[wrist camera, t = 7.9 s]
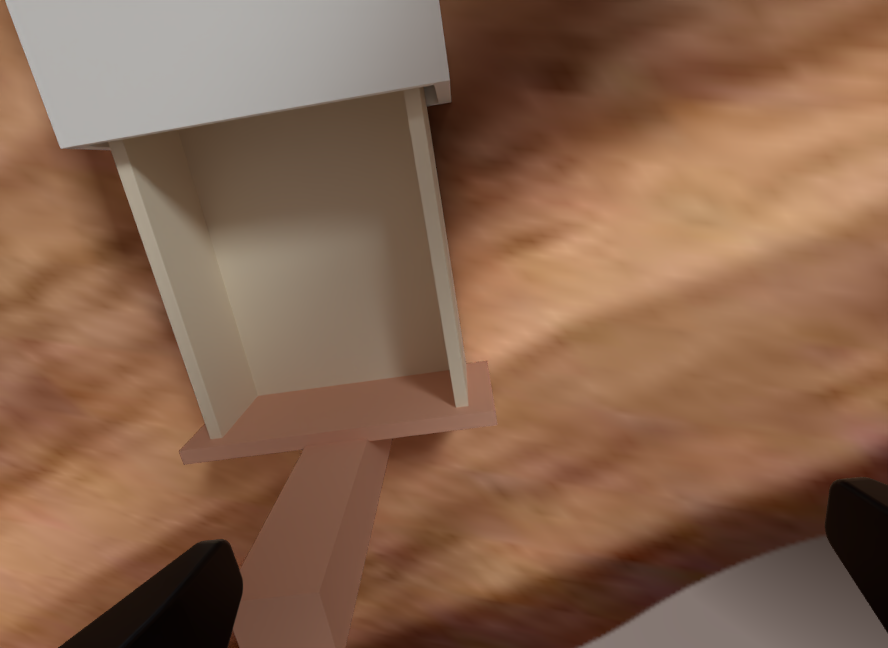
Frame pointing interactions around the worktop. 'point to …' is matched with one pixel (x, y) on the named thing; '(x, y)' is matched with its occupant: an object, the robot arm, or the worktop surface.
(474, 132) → the worktop surface
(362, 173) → the mailer tray
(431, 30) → the sleeve
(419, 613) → the worktop surface
